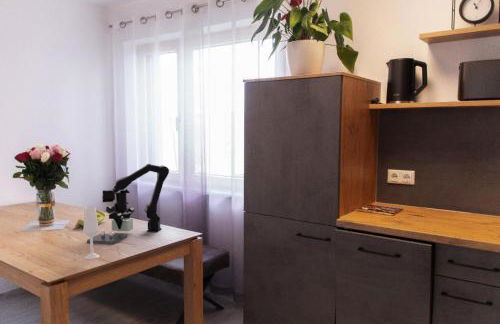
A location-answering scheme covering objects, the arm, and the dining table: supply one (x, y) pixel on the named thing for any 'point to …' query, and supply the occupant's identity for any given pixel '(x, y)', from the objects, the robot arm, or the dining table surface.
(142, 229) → the dining table surface
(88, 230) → the champagne flute
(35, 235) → the dining table surface
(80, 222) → the yellow banana
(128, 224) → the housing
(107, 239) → the base plate
